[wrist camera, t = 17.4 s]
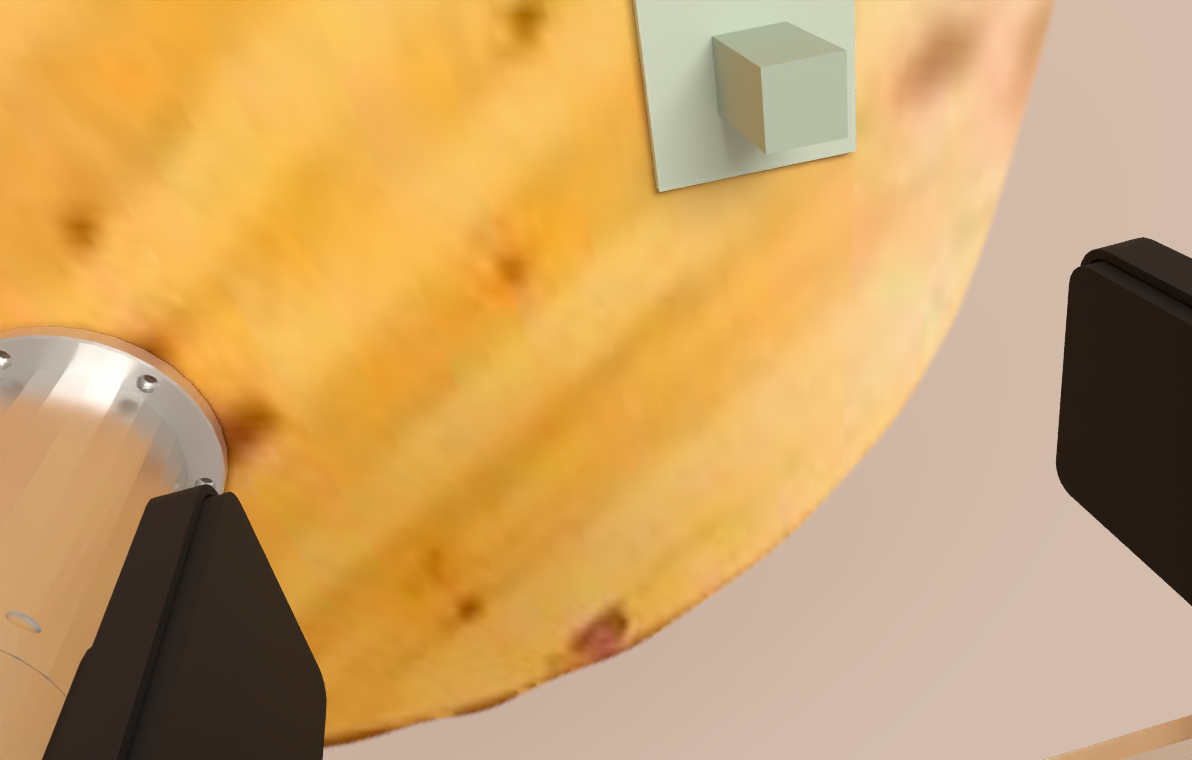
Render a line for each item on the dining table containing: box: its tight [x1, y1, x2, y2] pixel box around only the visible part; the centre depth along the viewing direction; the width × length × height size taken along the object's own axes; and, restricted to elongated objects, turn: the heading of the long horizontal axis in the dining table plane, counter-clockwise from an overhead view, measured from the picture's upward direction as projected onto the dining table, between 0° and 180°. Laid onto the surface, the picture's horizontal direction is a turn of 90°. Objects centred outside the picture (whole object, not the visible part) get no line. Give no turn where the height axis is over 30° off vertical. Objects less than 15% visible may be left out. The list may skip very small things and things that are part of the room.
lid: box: [633, 0, 856, 192], centre depth 34 cm, size 14×9×7 cm, turn 9°
